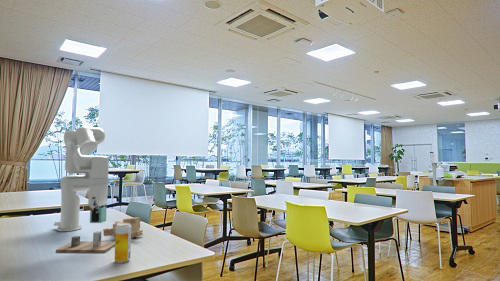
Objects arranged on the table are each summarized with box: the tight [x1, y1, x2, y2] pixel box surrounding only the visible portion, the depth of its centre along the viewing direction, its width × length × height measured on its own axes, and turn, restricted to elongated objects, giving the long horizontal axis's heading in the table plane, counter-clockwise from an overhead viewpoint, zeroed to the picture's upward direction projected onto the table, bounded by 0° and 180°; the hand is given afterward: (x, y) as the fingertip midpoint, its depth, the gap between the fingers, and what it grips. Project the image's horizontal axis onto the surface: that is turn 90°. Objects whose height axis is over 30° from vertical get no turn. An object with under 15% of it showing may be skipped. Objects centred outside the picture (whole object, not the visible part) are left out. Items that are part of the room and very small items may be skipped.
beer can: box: [114, 223, 132, 264], centre depth 129 cm, size 6×6×15 cm
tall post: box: [92, 230, 103, 246], centre depth 147 cm, size 3×3×6 cm
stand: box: [55, 235, 115, 254], centre depth 147 cm, size 22×14×5 cm, turn 91°
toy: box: [102, 216, 144, 239], centre depth 168 cm, size 10×20×20 cm
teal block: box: [89, 206, 108, 224], centre depth 147 cm, size 5×5×7 cm
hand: (98, 220), depth 147 cm, fingers closed on teal block, 5 cm apart
